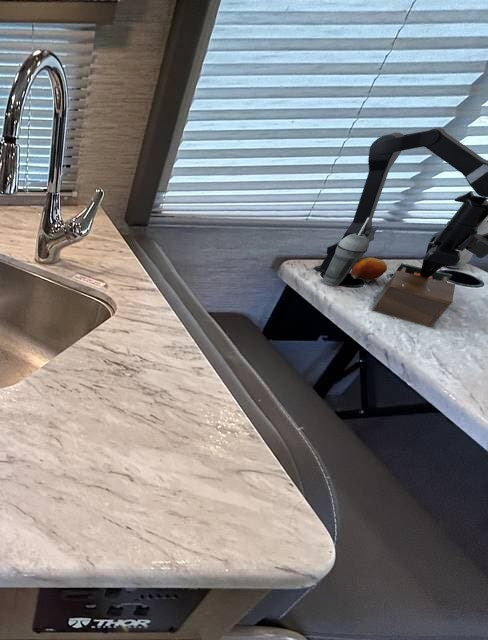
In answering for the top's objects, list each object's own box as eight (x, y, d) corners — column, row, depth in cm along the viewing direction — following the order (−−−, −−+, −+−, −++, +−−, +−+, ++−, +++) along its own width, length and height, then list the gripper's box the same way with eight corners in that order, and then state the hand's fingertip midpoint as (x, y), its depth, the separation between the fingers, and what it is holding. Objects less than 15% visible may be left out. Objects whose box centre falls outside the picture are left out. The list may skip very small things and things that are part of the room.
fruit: (346, 277, 123) (361, 252, 121) (342, 281, 129) (357, 258, 127) (378, 284, 118) (394, 259, 116) (373, 289, 125) (388, 264, 123)
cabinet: (379, 293, 117) (396, 270, 112) (435, 308, 110) (455, 284, 106) (372, 310, 110) (389, 286, 105) (430, 327, 103) (452, 302, 98)
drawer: (390, 276, 124) (403, 259, 120) (438, 287, 118) (453, 269, 114) (383, 294, 115) (396, 276, 111) (433, 307, 109) (449, 289, 105)
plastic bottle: (464, 272, 127) (517, 209, 114) (437, 267, 130) (486, 205, 117) (459, 264, 132) (510, 203, 119) (433, 260, 134) (480, 200, 121)
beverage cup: (318, 285, 122) (356, 220, 109) (315, 275, 127) (352, 213, 114) (346, 290, 119) (388, 224, 106) (342, 280, 124) (382, 216, 111)
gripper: (509, 241, 93) (458, 297, 103) (508, 219, 103) (462, 273, 113) (446, 229, 99) (404, 284, 109) (451, 210, 109) (412, 262, 119)
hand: (422, 276), depth 113 cm, fingers open, 7 cm apart
